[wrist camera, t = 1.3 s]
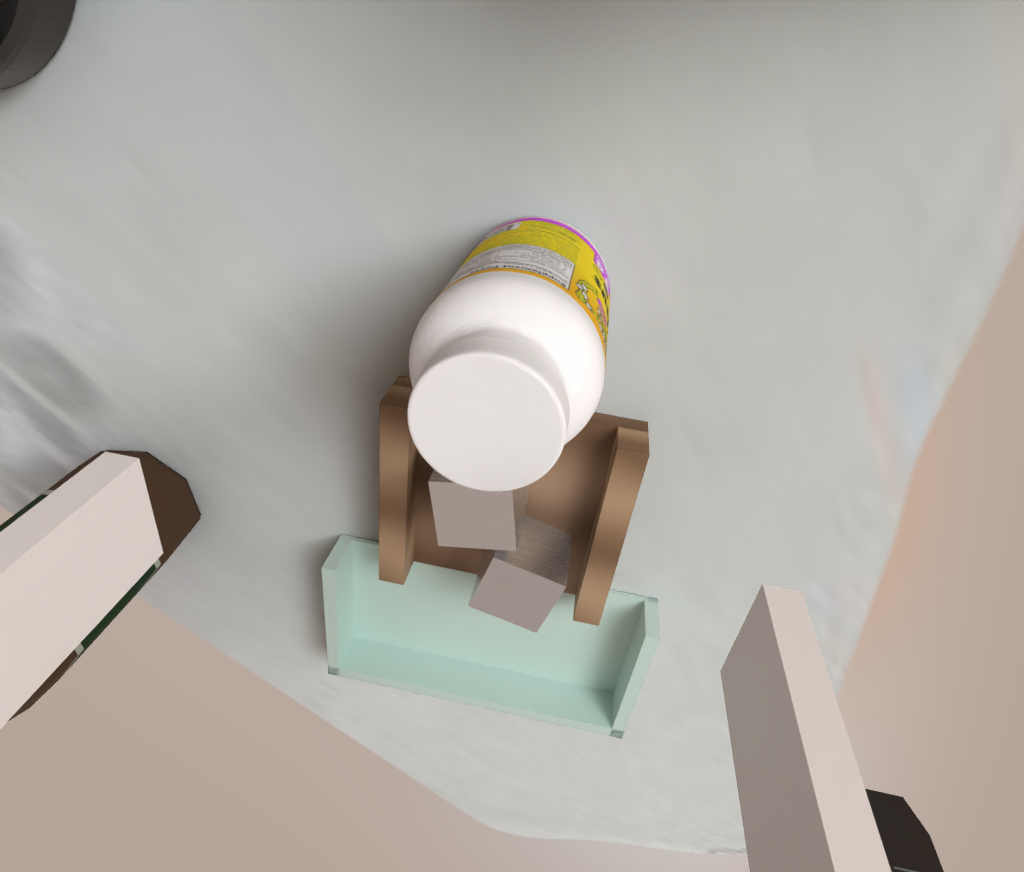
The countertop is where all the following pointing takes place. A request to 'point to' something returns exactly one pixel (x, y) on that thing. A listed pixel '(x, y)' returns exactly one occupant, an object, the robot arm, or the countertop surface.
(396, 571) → the slot board
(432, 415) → the supplement bottle
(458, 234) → the countertop surface
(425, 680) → the tray
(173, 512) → the beer bottle
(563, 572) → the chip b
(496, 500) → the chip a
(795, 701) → the robot arm
